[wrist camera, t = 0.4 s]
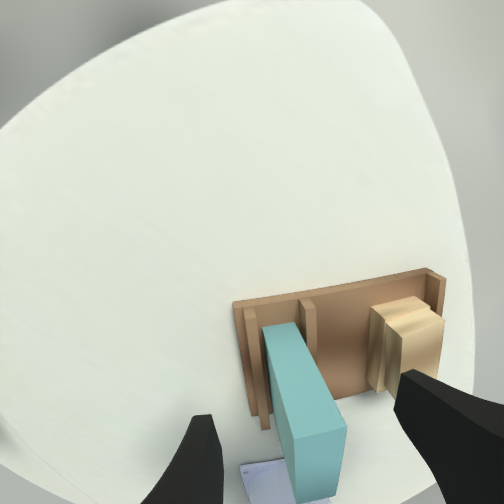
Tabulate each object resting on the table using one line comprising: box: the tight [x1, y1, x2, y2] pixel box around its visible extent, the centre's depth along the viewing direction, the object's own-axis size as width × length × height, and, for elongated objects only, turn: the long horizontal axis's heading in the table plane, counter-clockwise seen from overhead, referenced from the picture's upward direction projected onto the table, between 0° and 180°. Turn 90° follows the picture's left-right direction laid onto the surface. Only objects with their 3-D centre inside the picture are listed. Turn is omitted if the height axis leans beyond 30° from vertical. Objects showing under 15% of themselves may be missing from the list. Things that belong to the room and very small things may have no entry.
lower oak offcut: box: [365, 296, 430, 393], centre depth 18 cm, size 6×4×2 cm, turn 7°
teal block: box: [262, 322, 347, 504], centre depth 14 cm, size 6×2×9 cm, turn 7°
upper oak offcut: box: [384, 307, 445, 400], centre depth 16 cm, size 5×3×2 cm, turn 12°
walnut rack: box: [233, 268, 446, 430], centre depth 18 cm, size 9×14×3 cm, turn 97°
